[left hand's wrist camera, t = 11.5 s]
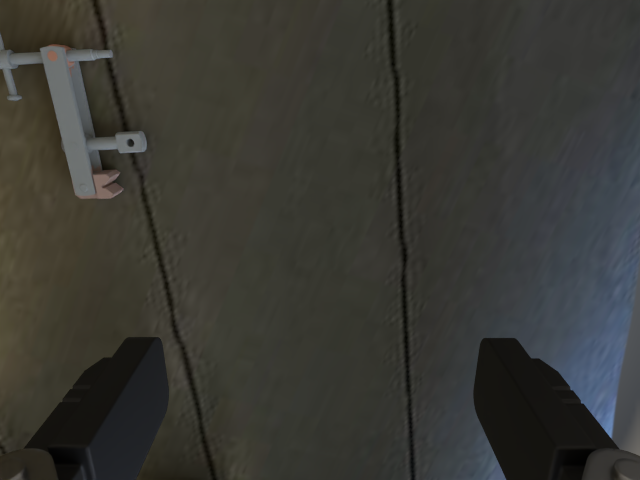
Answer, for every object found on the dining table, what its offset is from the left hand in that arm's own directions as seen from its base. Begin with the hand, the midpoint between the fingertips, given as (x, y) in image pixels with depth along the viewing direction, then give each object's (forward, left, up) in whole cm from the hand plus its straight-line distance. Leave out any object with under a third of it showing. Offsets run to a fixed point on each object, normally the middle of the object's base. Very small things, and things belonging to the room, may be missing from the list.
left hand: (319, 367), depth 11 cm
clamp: (-14, +14, -28) cm, 34 cm away
